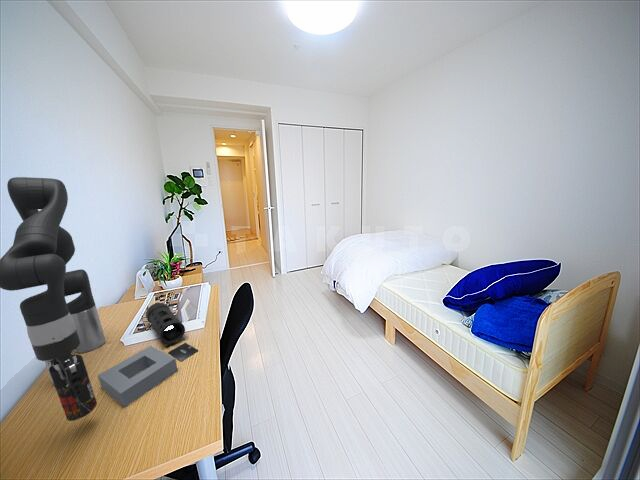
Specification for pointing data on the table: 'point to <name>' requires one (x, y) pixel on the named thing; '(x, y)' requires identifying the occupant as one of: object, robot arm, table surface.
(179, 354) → the solid state drive
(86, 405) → the deodorant
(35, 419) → the table surface
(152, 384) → the block
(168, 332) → the muzzle brake
